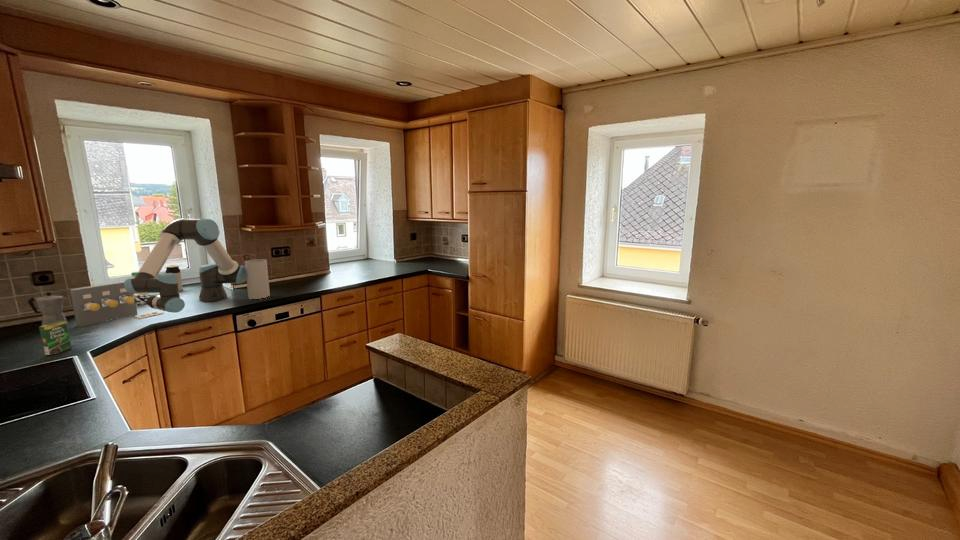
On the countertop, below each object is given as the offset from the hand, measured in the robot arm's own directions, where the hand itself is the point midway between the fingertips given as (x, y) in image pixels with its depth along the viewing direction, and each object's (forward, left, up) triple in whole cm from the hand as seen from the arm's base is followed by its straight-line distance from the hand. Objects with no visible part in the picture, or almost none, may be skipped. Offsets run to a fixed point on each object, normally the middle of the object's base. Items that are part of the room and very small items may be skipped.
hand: (134, 296), depth 206 cm
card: (0, -7, -13) cm, 15 cm away
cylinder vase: (-39, -48, -13) cm, 63 cm away
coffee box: (-5, +45, -13) cm, 47 cm away
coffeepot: (+32, +13, -13) cm, 37 cm away
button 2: (+8, -4, -5) cm, 10 cm away
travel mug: (+28, -63, -13) cm, 70 cm away
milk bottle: (+24, -30, -13) cm, 41 cm away
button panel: (+15, +1, -13) cm, 20 cm away
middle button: (+11, +3, -5) cm, 12 cm away
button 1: (+14, +10, -5) cm, 18 cm away
